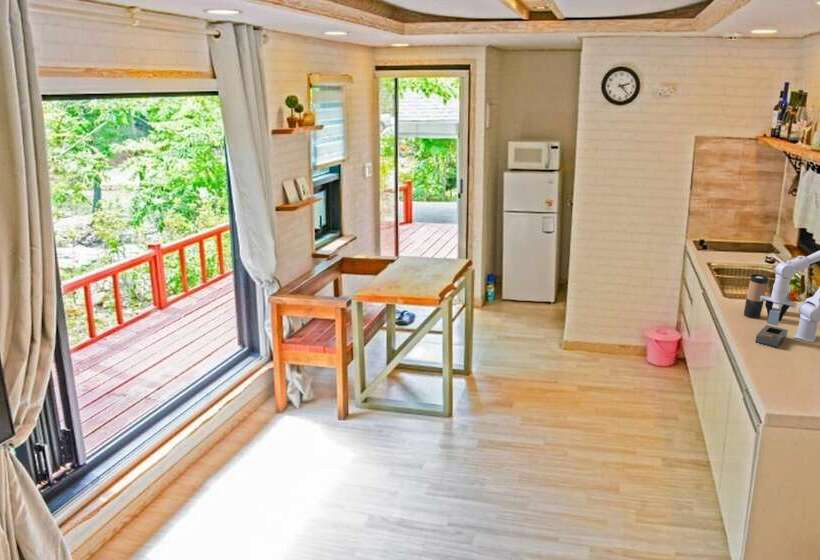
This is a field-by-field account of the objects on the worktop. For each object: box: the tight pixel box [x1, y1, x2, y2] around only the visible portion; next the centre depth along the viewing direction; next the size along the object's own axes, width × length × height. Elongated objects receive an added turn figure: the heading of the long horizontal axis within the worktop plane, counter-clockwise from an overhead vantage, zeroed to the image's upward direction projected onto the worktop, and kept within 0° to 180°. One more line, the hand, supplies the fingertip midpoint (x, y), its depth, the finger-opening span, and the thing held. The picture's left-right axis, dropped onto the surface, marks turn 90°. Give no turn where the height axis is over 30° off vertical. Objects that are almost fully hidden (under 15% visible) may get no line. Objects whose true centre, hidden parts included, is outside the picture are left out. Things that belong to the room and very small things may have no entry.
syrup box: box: [770, 284, 792, 315], centre depth 358 cm, size 6×6×14 cm
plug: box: [766, 308, 781, 327], centre depth 322 cm, size 6×4×6 cm, turn 142°
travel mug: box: [743, 273, 769, 319], centre depth 349 cm, size 8×8×20 cm
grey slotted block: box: [754, 324, 789, 349], centre depth 321 cm, size 18×9×4 cm, turn 142°
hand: (774, 319), depth 322 cm, fingers closed on plug, 4 cm apart
